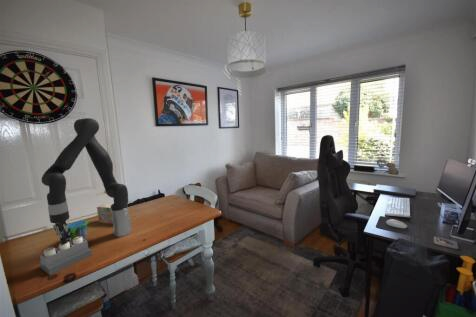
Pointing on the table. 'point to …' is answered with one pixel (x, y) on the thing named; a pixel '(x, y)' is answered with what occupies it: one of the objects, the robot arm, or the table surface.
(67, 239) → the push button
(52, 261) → the grey compartment box
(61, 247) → the knob mid
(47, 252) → the knob
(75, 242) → the knob
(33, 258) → the table surface
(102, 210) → the cereal box
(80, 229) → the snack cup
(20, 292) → the table surface
